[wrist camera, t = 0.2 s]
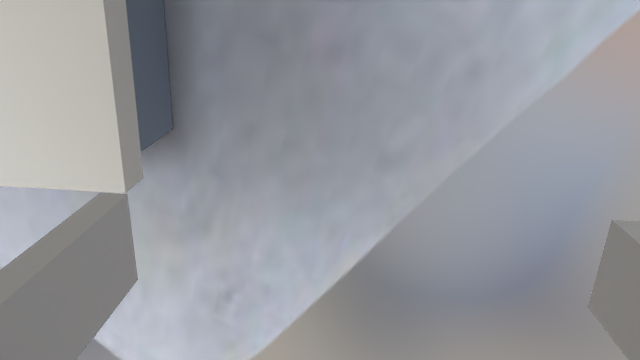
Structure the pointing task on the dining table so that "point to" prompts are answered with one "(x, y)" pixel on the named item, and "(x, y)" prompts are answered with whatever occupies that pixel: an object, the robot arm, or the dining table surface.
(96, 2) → the lid
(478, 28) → the dining table surface
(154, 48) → the tub
